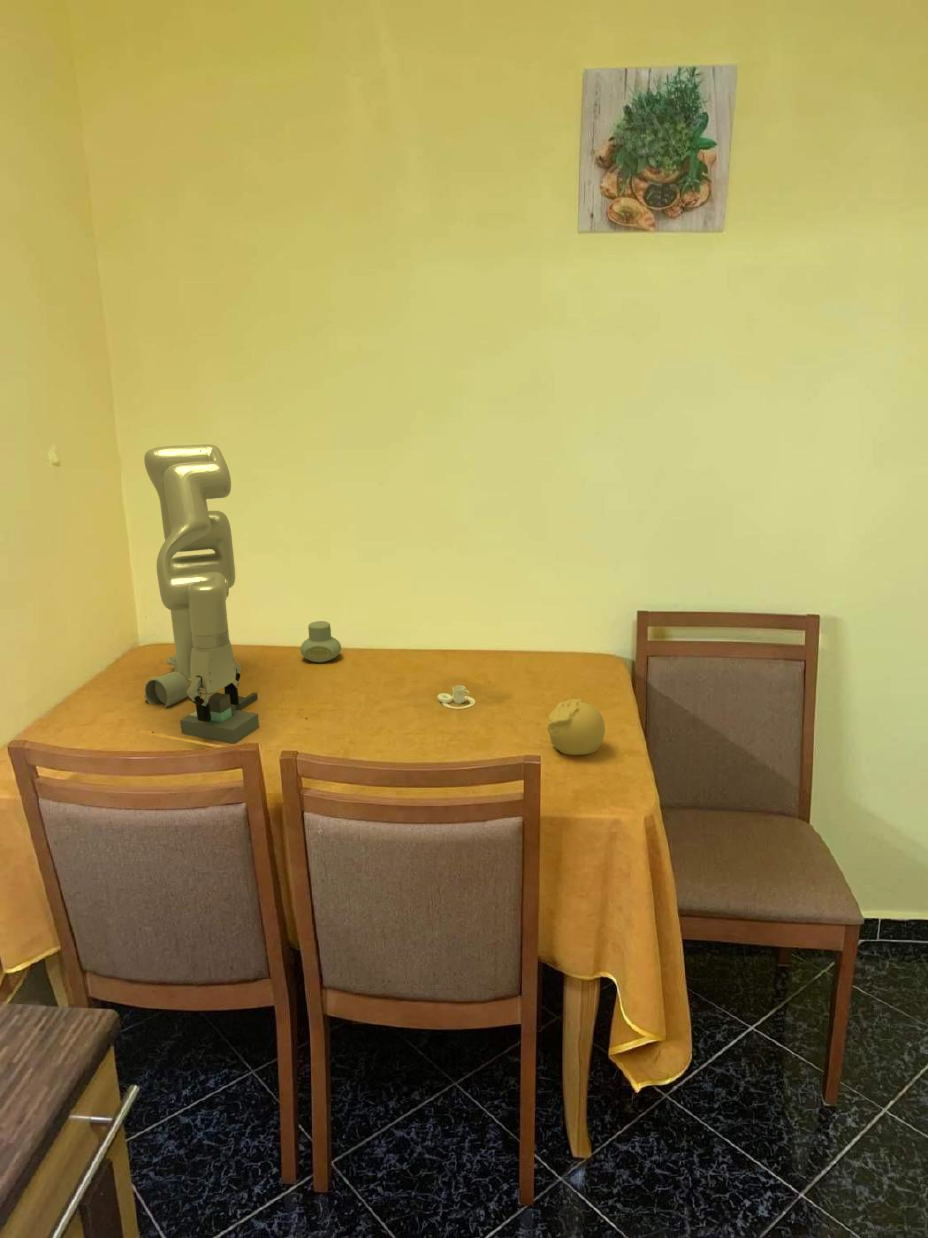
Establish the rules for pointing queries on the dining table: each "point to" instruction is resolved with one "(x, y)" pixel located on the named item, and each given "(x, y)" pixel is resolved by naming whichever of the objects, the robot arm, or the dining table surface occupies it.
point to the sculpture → (576, 727)
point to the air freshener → (320, 643)
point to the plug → (220, 707)
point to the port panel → (221, 726)
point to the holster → (245, 701)
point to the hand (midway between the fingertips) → (218, 712)
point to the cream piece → (456, 697)
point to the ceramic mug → (167, 689)
